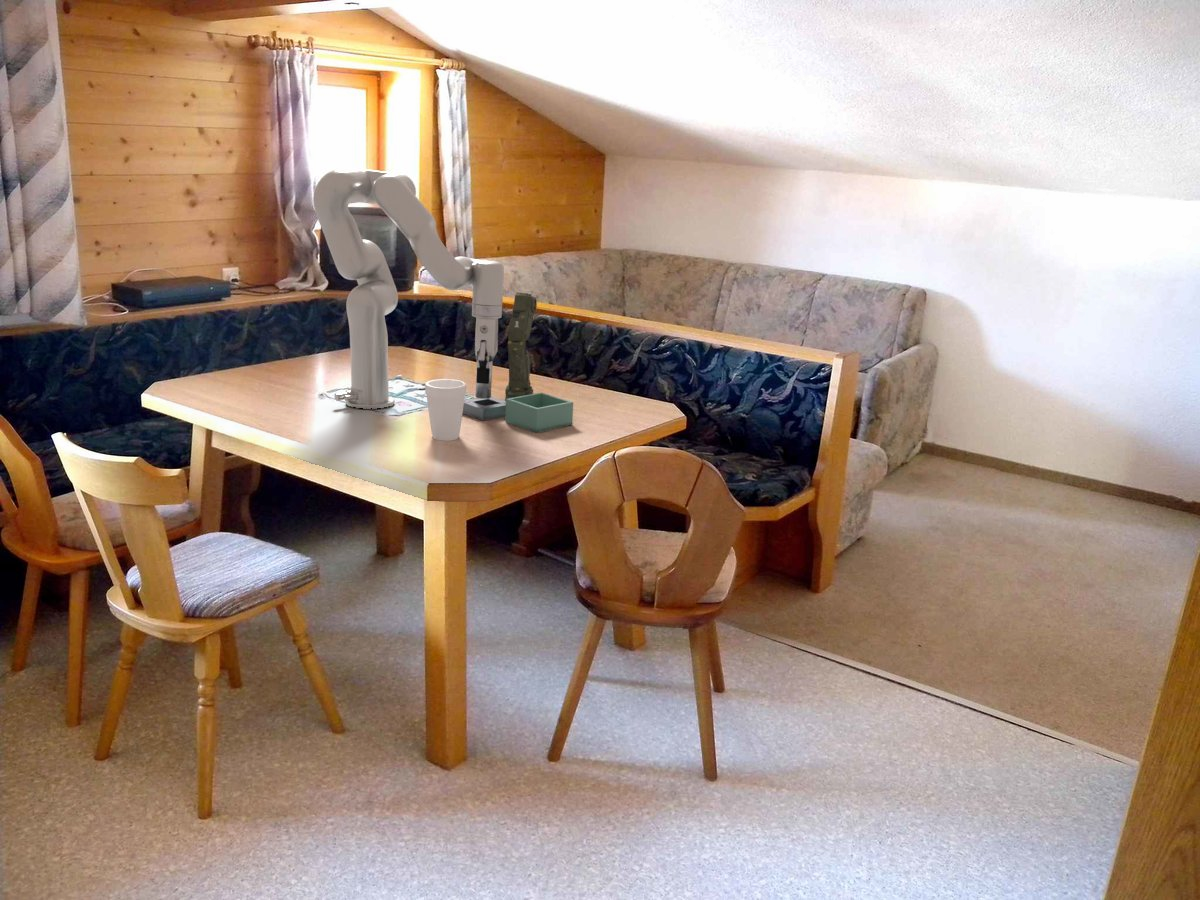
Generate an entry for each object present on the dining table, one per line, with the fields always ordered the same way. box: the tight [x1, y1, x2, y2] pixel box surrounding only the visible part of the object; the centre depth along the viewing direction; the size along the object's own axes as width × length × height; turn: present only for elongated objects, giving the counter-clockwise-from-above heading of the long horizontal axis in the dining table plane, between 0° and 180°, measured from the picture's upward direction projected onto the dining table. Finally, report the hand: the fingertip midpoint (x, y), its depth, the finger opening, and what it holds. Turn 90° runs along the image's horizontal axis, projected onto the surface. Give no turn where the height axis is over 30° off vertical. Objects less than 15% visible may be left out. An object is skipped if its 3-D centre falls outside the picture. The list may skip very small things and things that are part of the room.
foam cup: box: [424, 378, 467, 442], centre depth 237 cm, size 10×9×13 cm
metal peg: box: [474, 351, 495, 399], centre depth 258 cm, size 5×5×12 cm
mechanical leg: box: [504, 292, 538, 401], centre depth 275 cm, size 14×7×30 cm, turn 168°
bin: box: [504, 392, 574, 433], centre depth 253 cm, size 12×12×6 cm
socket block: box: [462, 396, 506, 422], centre depth 260 cm, size 10×10×3 cm
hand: (483, 380), depth 258 cm, fingers closed on metal peg, 4 cm apart
